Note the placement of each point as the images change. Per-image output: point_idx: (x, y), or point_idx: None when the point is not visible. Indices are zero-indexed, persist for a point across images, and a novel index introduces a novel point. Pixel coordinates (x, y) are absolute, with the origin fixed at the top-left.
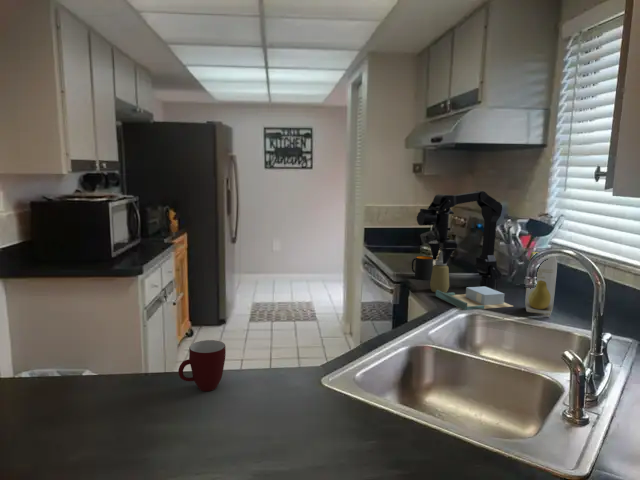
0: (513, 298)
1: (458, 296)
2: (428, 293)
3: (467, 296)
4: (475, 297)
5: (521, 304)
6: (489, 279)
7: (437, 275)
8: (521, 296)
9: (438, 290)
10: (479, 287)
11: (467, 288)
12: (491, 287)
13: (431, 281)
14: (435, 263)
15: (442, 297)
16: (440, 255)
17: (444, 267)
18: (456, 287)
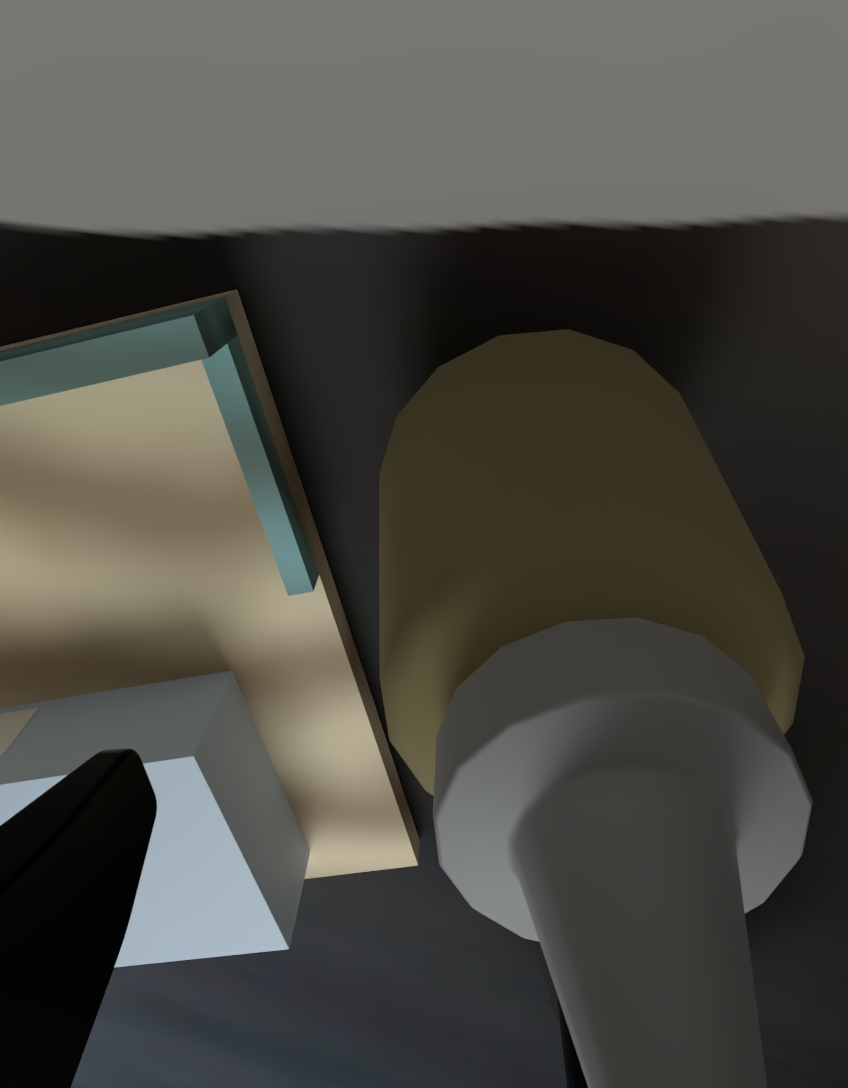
0: (345, 1012)
1: (245, 603)
2: (557, 284)
3: (192, 686)
4: (38, 728)
5: (161, 989)
6: (580, 1084)
7: (422, 491)
8: (412, 1073)
9: (169, 350)
10: (221, 885)
11: (168, 754)
12: (558, 1004)
13: (541, 359)
14: (641, 629)
15: (34, 345)
16: (620, 1005)
17: (411, 741)
18: (817, 755)
